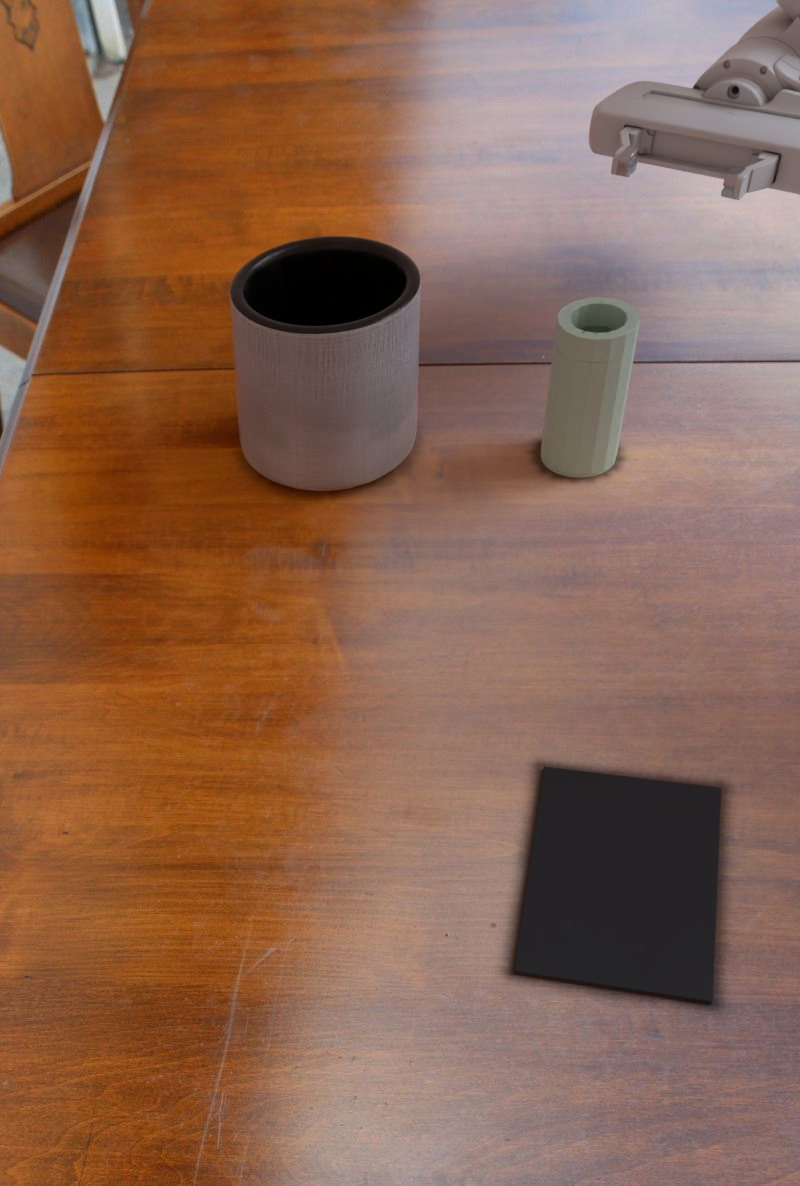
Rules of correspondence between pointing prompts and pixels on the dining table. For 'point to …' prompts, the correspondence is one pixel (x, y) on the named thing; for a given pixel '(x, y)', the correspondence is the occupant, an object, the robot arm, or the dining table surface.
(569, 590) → the dining table surface
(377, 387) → the planter
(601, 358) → the green hollow cylinder
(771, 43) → the robot arm
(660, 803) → the mat
